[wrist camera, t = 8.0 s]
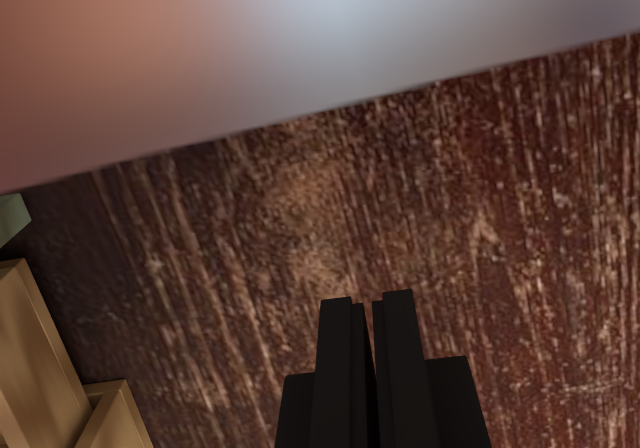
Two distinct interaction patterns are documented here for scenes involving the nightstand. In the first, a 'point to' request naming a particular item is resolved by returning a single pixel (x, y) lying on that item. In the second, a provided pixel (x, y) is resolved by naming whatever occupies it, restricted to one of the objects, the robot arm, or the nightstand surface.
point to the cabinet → (113, 418)
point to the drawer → (33, 357)
